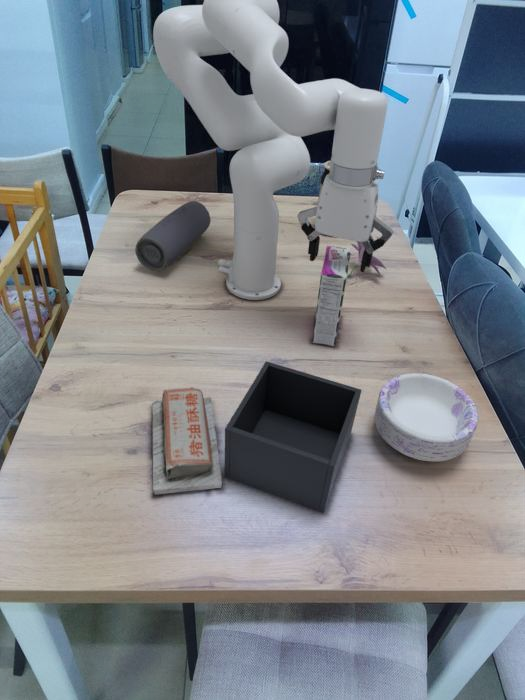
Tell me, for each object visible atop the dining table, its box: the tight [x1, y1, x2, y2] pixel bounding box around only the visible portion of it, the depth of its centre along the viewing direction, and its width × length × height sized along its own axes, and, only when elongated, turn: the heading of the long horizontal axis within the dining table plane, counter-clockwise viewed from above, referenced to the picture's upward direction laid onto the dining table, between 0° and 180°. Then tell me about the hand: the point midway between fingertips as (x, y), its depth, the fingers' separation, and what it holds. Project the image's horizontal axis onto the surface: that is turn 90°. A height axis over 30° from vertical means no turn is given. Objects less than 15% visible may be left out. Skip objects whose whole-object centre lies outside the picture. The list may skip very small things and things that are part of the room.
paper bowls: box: [374, 372, 479, 462], centre depth 81 cm, size 15×15×8 cm
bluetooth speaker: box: [134, 200, 212, 272], centre depth 123 cm, size 23×9×10 cm, turn 159°
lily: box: [348, 241, 387, 278], centre depth 121 cm, size 12×12×10 cm
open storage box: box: [224, 360, 362, 513], centre depth 76 cm, size 16×16×11 cm
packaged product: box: [151, 386, 223, 496], centre depth 78 cm, size 18×5×10 cm
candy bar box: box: [312, 245, 352, 347], centre depth 100 cm, size 11×5×16 cm, turn 168°
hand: (338, 263), depth 95 cm, fingers open, 9 cm apart
